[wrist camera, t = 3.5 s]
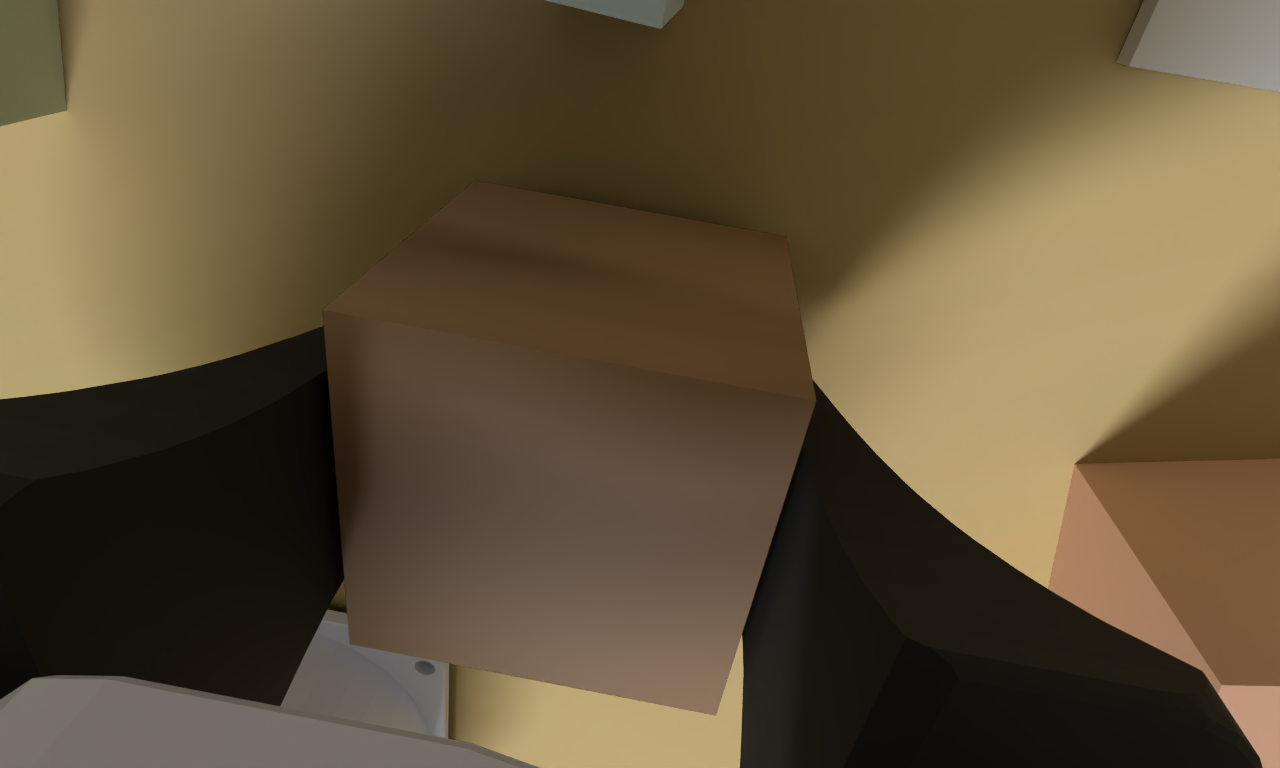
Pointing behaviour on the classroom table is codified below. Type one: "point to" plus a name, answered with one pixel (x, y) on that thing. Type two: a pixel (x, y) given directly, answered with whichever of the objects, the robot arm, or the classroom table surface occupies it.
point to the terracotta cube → (1186, 571)
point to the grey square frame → (1208, 40)
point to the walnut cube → (566, 441)
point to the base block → (630, 9)
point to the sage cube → (30, 60)
